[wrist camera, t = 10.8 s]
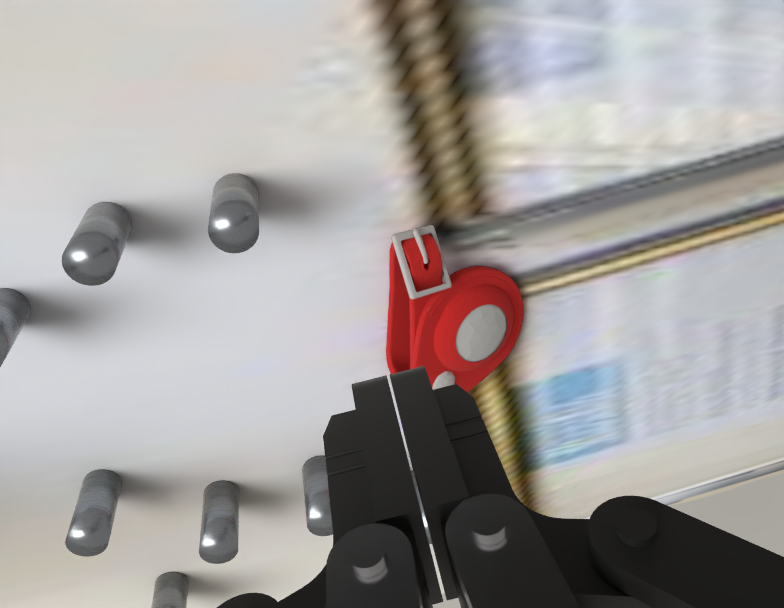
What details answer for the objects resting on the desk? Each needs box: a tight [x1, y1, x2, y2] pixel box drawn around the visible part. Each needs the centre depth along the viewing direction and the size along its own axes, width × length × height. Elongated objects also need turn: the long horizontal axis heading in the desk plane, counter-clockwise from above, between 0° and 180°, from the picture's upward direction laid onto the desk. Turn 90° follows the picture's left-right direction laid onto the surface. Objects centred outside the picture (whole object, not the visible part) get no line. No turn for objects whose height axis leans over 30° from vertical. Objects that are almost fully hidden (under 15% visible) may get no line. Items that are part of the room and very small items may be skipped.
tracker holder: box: [386, 225, 523, 392], centre depth 42 cm, size 12×4×10 cm
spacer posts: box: [0, 174, 432, 608], centre depth 42 cm, size 23×31×5 cm
